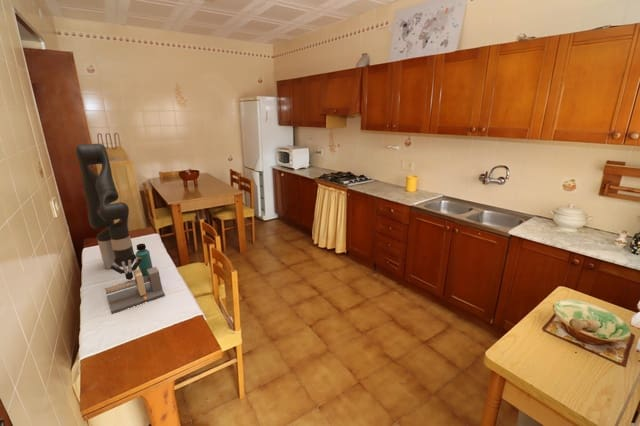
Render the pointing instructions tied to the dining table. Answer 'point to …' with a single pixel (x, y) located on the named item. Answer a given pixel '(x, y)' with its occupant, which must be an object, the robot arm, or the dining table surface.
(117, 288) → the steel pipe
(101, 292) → the dining table surface
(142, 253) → the beverage bottle
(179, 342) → the dining table surface
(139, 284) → the beige rectangular block
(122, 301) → the mount board
